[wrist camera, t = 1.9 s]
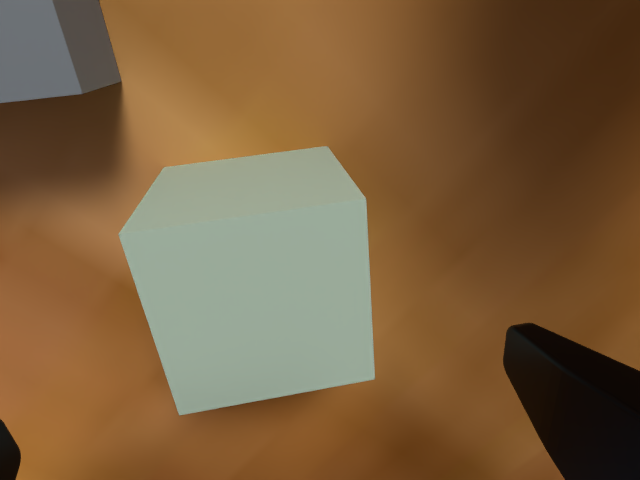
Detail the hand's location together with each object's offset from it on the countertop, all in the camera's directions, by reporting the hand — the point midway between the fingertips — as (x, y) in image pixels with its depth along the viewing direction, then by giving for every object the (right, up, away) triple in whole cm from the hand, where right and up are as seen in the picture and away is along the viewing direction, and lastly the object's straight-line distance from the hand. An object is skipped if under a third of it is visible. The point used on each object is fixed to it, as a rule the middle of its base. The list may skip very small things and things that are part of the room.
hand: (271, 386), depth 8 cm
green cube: (-1, +3, +7) cm, 7 cm away
